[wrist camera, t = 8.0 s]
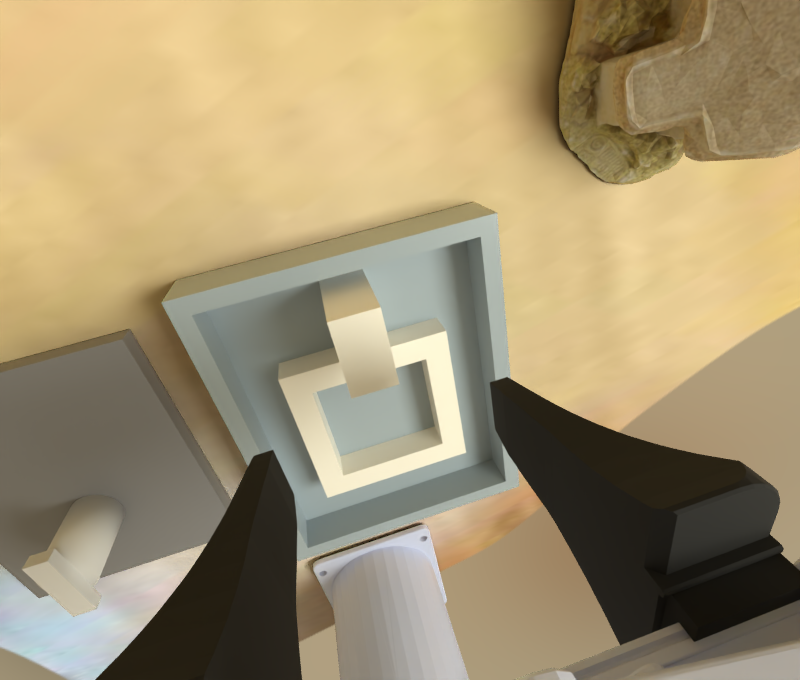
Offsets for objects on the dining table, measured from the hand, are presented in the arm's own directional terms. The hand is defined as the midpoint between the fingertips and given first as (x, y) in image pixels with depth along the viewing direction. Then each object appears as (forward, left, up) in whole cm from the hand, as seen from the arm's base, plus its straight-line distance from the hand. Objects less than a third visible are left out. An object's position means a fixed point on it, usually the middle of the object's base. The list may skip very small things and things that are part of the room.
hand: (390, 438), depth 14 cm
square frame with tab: (-3, 0, -8) cm, 8 cm away
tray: (-4, 0, -9) cm, 9 cm away
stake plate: (-4, +15, -9) cm, 18 cm away
